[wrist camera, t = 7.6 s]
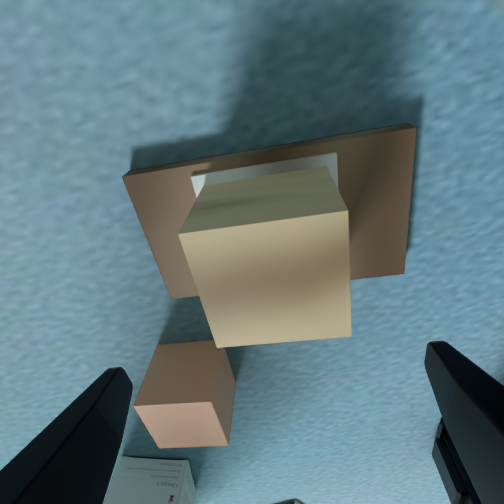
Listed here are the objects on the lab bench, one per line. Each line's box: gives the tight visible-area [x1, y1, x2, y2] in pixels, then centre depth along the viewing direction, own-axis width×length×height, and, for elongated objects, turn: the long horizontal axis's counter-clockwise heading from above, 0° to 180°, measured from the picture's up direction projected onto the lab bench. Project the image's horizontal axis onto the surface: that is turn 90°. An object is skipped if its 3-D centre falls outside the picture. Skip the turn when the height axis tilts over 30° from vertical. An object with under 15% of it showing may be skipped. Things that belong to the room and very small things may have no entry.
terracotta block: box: [133, 340, 236, 448], centre depth 23 cm, size 5×5×5 cm
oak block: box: [178, 166, 351, 348], centre depth 15 cm, size 6×6×5 cm
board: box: [122, 123, 417, 299], centre depth 17 cm, size 14×8×1 cm, turn 100°
